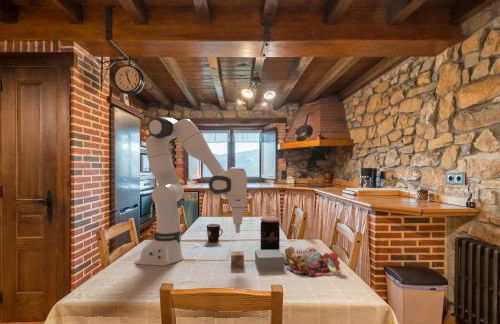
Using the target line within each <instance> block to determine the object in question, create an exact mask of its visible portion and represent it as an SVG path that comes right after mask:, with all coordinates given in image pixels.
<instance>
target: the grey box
mask: <svg viewBox="0 0 500 324" xmlns="http://www.w3.org/2000/svg"><path fill="white" fill-rule="evenodd" d="M254 262H255V265H256V269H257V271H259V272H260V271H284V270H285V256H284V255H283V253H282V252H281V251H280V249H276V250H261V249H255V250H254Z"/></svg>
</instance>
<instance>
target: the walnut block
mask: <svg viewBox="0 0 500 324" xmlns="http://www.w3.org/2000/svg"><path fill="white" fill-rule="evenodd" d="M230 268H231V269H244V268H245V251H244V250H243V251H239V250H238V251H234V250H233V251H231V252H230Z"/></svg>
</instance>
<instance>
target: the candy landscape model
mask: <svg viewBox="0 0 500 324" xmlns="http://www.w3.org/2000/svg"><path fill="white" fill-rule="evenodd" d="M295 249H296V250H295ZM284 255H285V258H286V261H285V260H284V264H286V269H288V270H289V271H292V272H293V273H294V274H301V276H303V275H305V274H306V275H307V276H308V277H316V276H317V277H319V276H335V275H339V274H340V273H341V271H342V270H341V267H340V260H339V255H338V253H337V252H335V251H331V252H330V253H329V252H324V253H323V254H321V252H320V251H319V250H318V249H316V248H315V246H311V245H309V246H308V247H304V248H303V249H298V247H297V248H296V247H293V246H288V247H286V248H285V249H284Z"/></svg>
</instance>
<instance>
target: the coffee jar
mask: <svg viewBox="0 0 500 324" xmlns="http://www.w3.org/2000/svg"><path fill="white" fill-rule="evenodd" d="M280 220H281V219H280V218H279V217H275V216H265V217H261V218H260V250H276V249H279V250H280V245H281V244H280V241H281V240H280V239H281V238H280V232H281V231H280V226H281V225H280V224H281V223H280Z"/></svg>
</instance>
